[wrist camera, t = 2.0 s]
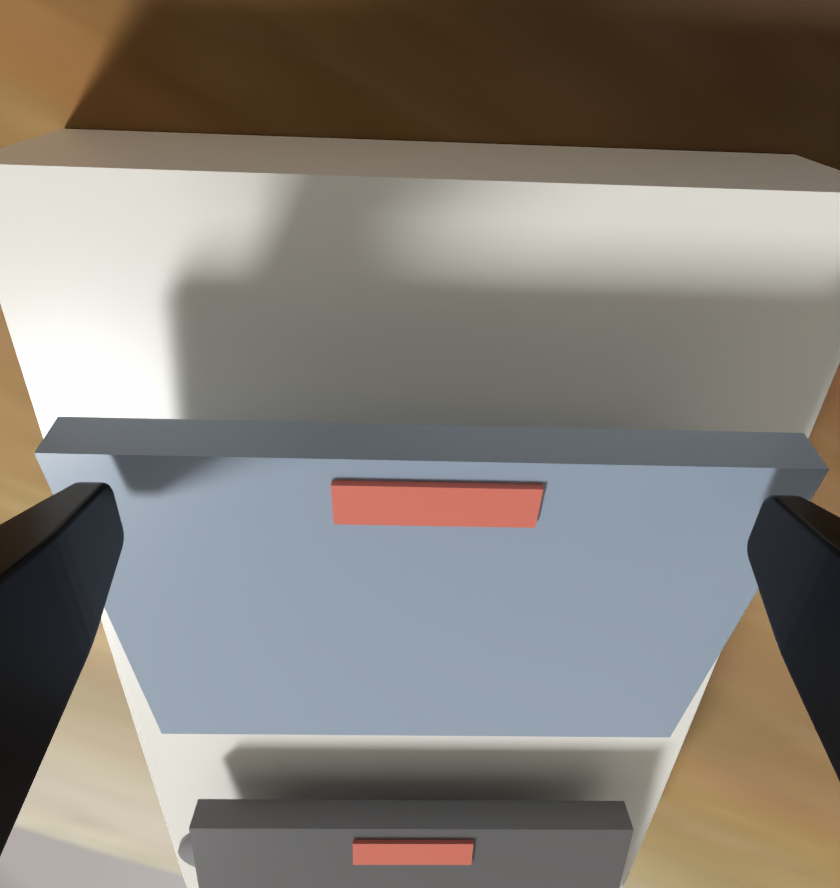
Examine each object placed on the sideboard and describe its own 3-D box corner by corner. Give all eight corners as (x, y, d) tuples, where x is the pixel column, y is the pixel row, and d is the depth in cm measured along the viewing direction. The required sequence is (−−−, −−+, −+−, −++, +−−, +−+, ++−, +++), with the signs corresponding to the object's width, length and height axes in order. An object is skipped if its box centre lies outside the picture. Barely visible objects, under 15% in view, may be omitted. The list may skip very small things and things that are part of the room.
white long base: (794, 154, 13) (916, 197, 10) (581, 833, 26) (605, 942, 23) (62, 128, 12) (-53, 165, 9) (225, 832, 26) (200, 943, 23)
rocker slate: (774, 390, 11) (832, 474, 9) (647, 661, 16) (671, 742, 14) (85, 375, 10) (30, 458, 9) (183, 656, 16) (160, 739, 14)
